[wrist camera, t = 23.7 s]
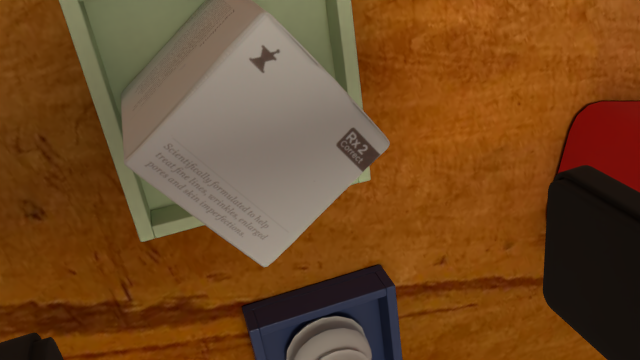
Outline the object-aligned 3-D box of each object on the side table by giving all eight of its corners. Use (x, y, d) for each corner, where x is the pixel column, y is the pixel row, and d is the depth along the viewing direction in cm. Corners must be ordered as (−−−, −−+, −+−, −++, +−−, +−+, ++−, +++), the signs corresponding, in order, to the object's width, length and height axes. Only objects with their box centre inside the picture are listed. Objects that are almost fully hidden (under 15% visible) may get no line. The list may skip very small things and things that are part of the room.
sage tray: (139, 220, 25) (140, 243, 24) (59, -20, 21) (54, -13, 19) (355, 162, 27) (371, 180, 26) (327, -67, 23) (344, -65, 21)
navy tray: (268, 410, 32) (276, 438, 31) (241, 306, 29) (248, 331, 27) (391, 367, 34) (405, 392, 32) (379, 263, 30) (395, 285, 29)
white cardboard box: (117, 92, 22) (114, 165, 16) (224, -23, 22) (266, 5, 15) (230, 183, 25) (266, 274, 19) (327, 83, 25) (397, 143, 18)
